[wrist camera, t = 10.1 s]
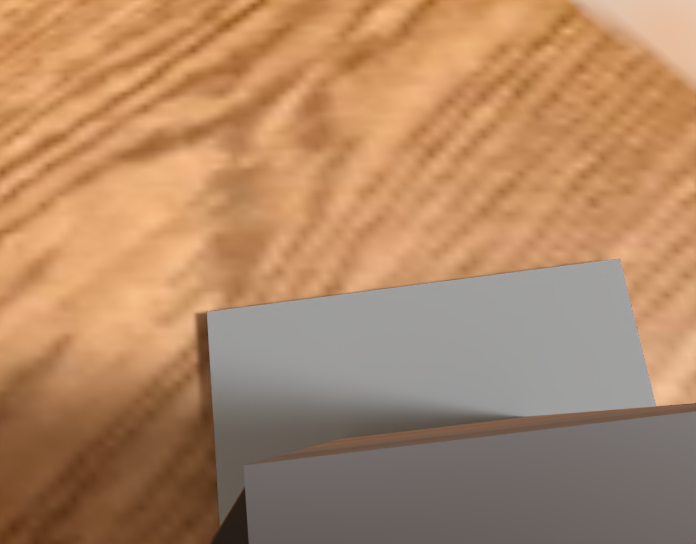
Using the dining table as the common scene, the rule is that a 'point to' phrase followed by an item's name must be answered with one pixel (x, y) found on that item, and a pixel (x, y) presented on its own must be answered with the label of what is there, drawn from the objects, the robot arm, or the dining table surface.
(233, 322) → the slate mat
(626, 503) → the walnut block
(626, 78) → the dining table surface
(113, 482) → the dining table surface
